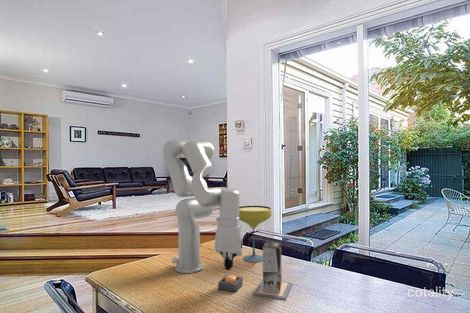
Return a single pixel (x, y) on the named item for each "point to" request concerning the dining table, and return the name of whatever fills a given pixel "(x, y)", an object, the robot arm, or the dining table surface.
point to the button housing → (230, 284)
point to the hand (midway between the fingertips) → (228, 268)
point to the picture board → (282, 295)
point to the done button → (230, 279)
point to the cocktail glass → (254, 224)
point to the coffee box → (272, 267)
